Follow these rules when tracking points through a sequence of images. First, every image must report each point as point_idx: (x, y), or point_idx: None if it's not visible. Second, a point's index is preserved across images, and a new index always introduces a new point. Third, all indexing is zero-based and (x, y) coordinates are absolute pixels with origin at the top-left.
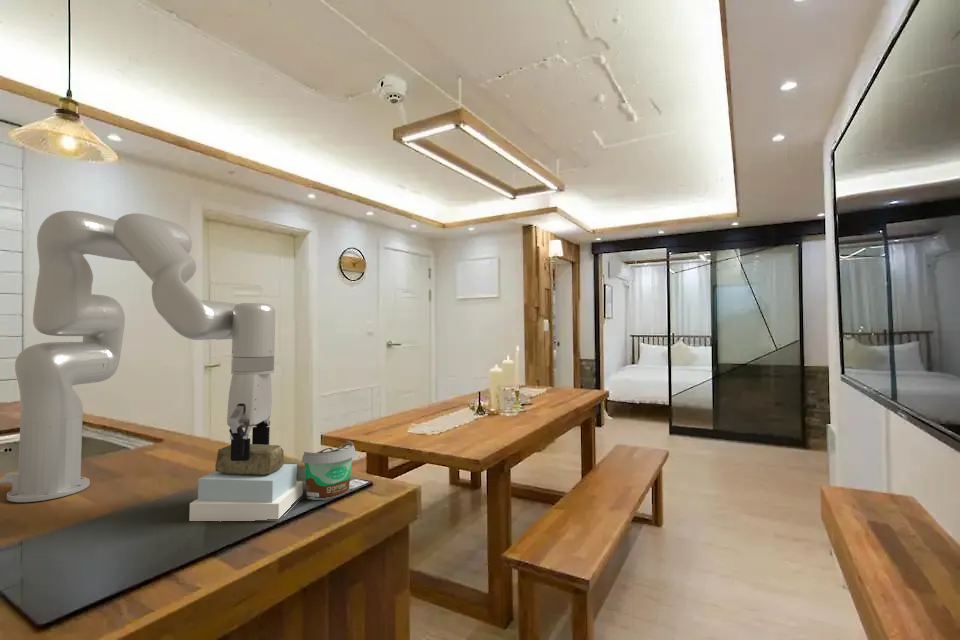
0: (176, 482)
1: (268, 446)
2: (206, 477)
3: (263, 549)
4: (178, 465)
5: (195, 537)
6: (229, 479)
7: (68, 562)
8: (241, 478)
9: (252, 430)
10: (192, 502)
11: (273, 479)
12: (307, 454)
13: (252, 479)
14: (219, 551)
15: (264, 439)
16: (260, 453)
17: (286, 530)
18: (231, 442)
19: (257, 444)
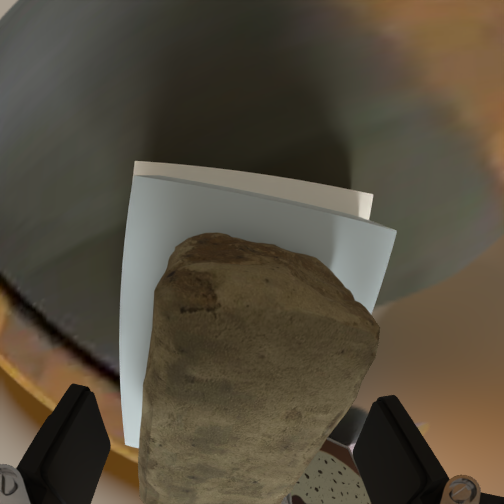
0: (457, 35)
1: (243, 501)
2: (152, 205)
3: (42, 374)
4: None
5: (63, 231)
6: (122, 322)
7: (15, 50)
8: (136, 363)
9: (423, 466)
10: (143, 165)
11: (137, 445)
12: None
13: (130, 398)
14: (22, 306)
15: (366, 472)
16: (140, 485)
17: (108, 402)
18: (29, 452)
19: (302, 463)
